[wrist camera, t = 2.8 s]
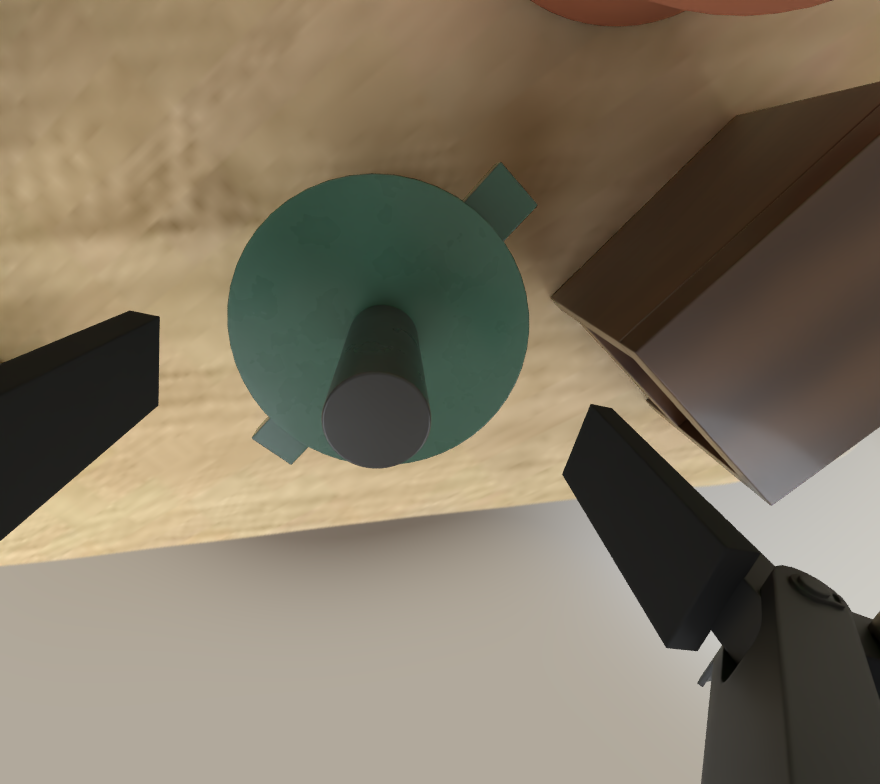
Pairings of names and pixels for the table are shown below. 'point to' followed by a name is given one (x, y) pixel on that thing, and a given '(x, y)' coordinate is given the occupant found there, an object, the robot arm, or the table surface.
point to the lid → (378, 319)
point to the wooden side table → (755, 291)
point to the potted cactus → (663, 9)
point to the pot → (499, 207)
